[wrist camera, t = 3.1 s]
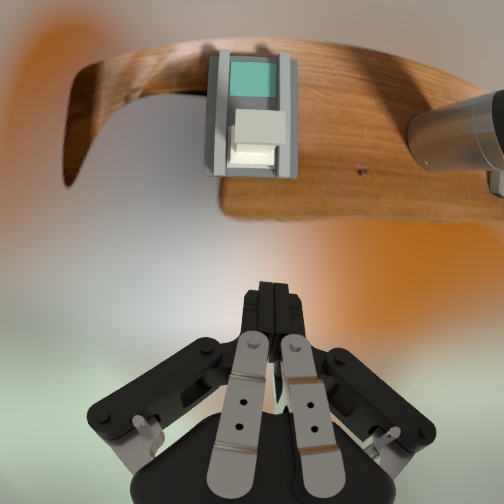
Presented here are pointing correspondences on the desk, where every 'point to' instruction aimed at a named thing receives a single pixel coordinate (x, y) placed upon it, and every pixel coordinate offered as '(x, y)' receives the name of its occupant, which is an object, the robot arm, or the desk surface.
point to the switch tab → (257, 136)
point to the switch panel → (250, 97)
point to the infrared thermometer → (497, 183)
